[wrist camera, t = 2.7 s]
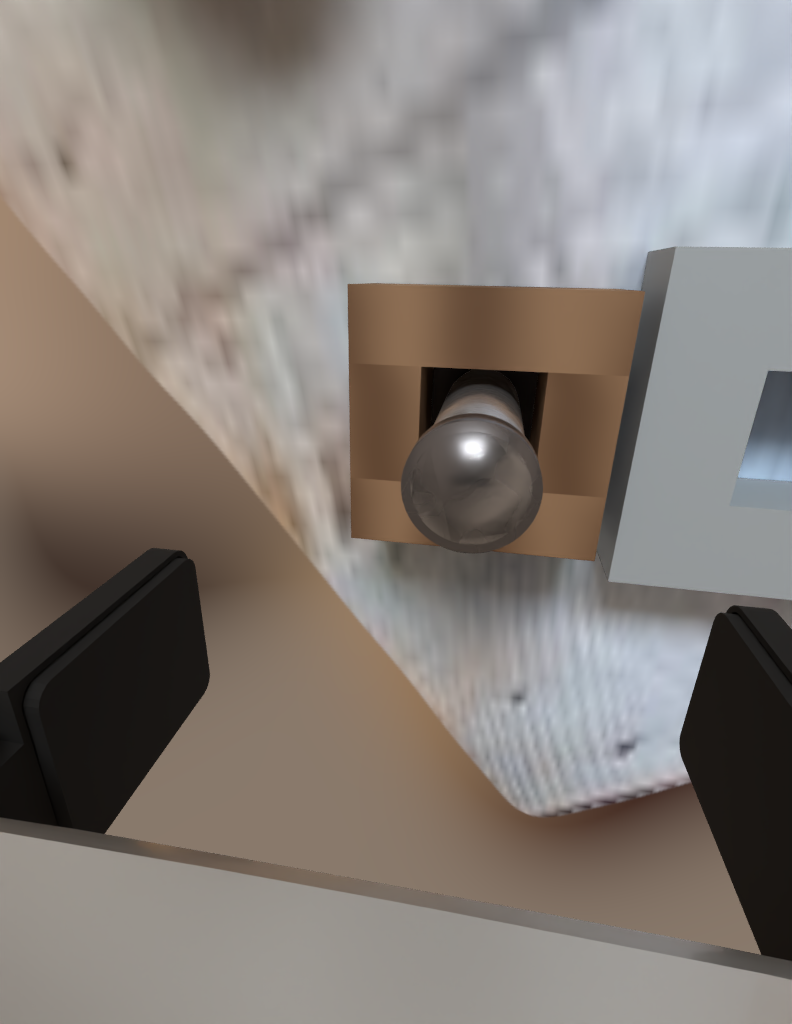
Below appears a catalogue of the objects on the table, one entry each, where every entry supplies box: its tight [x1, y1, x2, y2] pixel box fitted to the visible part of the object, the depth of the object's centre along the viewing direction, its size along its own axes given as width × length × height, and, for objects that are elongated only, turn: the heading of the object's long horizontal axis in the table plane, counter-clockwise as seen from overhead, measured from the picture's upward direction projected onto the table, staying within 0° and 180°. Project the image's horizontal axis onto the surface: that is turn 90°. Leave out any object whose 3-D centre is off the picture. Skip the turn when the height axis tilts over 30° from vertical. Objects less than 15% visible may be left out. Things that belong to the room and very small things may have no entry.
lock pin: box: [401, 369, 543, 553], centre depth 22 cm, size 4×4×12 cm
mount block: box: [348, 283, 645, 561], centre depth 25 cm, size 11×11×5 cm
